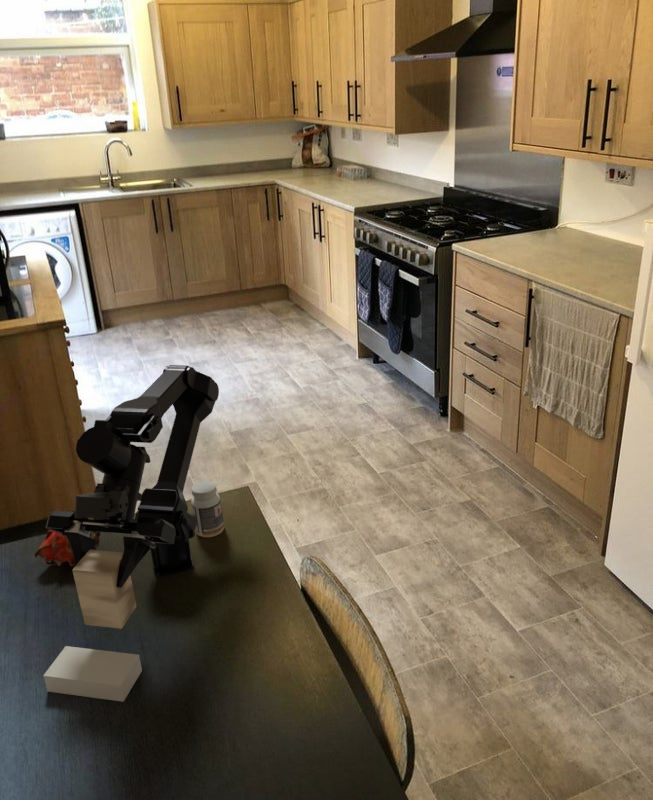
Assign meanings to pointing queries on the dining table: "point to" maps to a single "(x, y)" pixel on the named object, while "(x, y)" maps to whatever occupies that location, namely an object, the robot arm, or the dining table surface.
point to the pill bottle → (207, 509)
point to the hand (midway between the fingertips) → (98, 585)
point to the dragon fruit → (59, 548)
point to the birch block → (103, 590)
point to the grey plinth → (93, 673)
